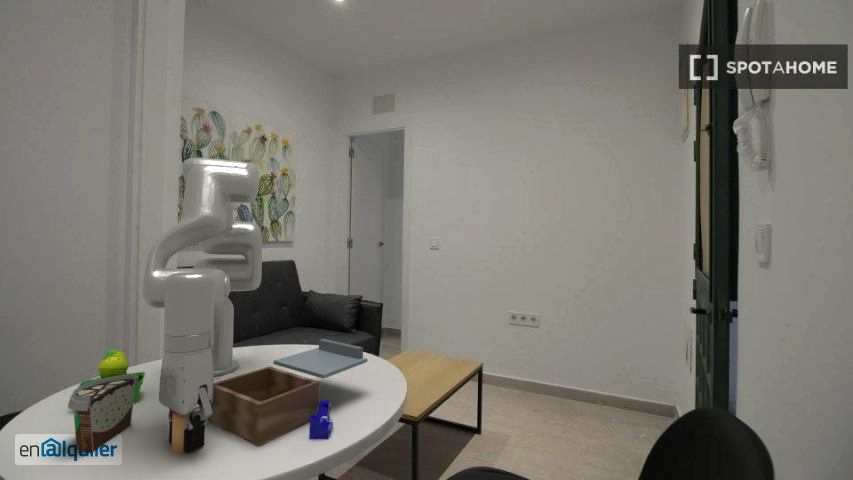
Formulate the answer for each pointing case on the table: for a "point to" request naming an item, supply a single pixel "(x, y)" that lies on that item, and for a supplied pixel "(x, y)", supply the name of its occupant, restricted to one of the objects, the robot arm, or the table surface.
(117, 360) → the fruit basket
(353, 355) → the lid
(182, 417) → the peg
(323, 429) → the cable holder
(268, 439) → the housing
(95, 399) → the food container
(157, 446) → the table surface
